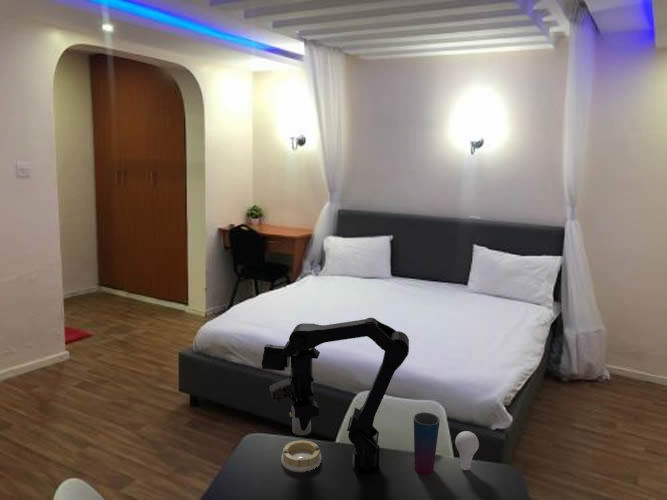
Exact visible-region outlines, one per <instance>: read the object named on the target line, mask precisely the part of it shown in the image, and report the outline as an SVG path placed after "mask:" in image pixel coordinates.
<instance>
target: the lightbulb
mask: <svg viewBox="0 0 667 500" xmlns="http://www.w3.org/2000/svg"><path fill="white" fill-rule="evenodd" d="M454 442H455V444H454V445H455V447H456V449H457V452H458V454H459V461H460V468H461V469H462V470H463V471H469V470H470V469H471V463H472V462H473V457H474V456H475V454H476V453H477V451H478V449H479V446H480V442H479V438H478V436H476V434H475V433H474V432H472V431H470V430H469V431H468V430H464V431H461V432H459V433H458V434H457V435H456V438H455V440H454Z"/></svg>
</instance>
